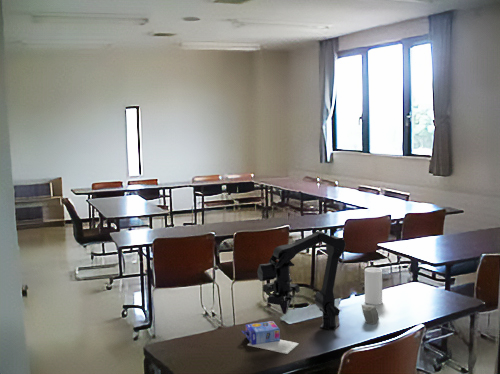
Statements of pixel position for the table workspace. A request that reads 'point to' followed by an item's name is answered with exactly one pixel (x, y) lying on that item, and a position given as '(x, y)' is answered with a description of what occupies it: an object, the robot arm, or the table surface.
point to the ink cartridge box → (262, 332)
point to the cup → (373, 285)
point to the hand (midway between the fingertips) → (284, 313)
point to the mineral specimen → (370, 314)
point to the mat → (277, 346)
